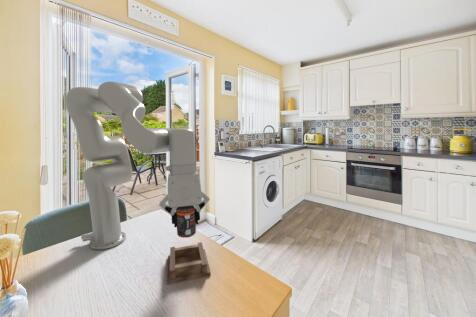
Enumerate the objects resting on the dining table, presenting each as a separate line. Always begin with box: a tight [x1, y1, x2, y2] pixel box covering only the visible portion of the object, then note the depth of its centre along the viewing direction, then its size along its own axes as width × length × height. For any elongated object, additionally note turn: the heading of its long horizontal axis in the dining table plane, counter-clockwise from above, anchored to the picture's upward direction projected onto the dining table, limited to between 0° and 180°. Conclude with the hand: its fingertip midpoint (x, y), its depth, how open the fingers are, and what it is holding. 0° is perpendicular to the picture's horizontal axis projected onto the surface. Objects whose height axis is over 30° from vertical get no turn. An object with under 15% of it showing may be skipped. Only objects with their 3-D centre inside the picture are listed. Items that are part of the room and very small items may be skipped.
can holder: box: [166, 241, 212, 285], centre depth 69 cm, size 13×13×4 cm
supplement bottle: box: [175, 205, 197, 238], centre depth 67 cm, size 6×6×11 cm
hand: (186, 223), depth 67 cm, fingers closed on supplement bottle, 6 cm apart
